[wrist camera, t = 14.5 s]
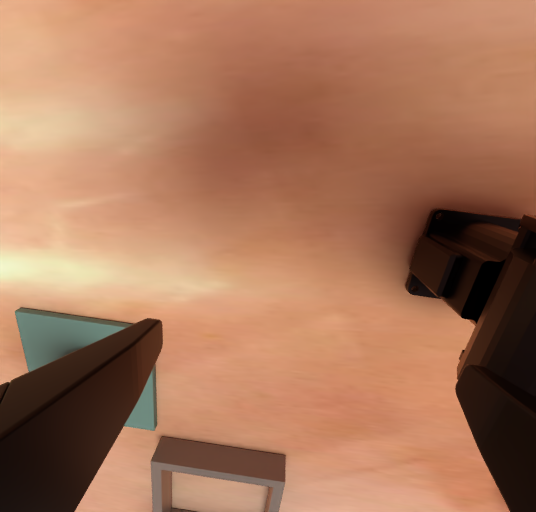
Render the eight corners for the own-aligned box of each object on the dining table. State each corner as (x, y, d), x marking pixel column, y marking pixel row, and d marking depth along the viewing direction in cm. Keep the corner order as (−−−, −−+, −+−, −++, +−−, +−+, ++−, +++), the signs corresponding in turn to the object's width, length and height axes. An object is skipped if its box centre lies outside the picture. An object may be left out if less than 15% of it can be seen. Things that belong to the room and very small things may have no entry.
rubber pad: (154, 327, 24) (151, 331, 24) (156, 425, 28) (154, 430, 28) (21, 307, 24) (14, 311, 24) (43, 407, 29) (38, 412, 28)
